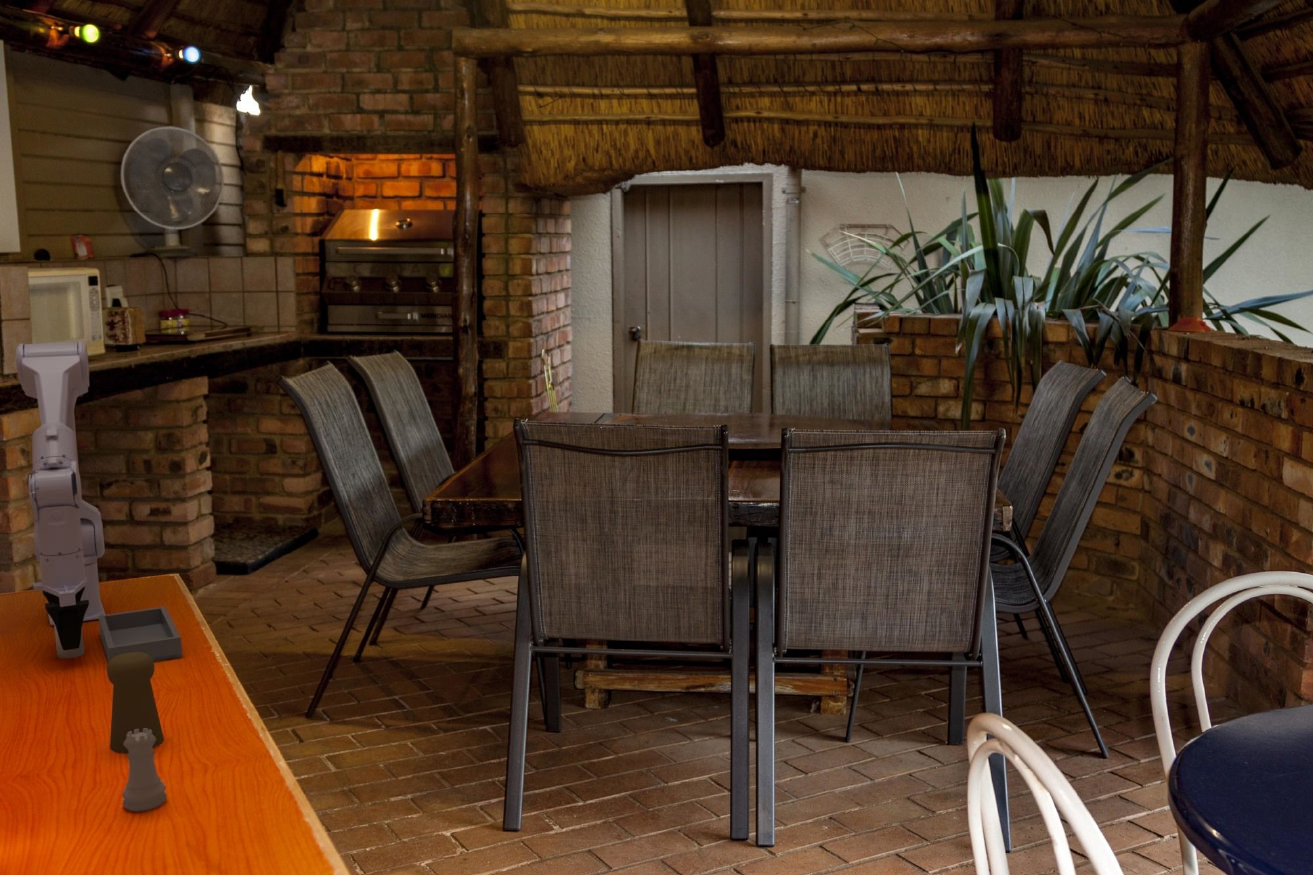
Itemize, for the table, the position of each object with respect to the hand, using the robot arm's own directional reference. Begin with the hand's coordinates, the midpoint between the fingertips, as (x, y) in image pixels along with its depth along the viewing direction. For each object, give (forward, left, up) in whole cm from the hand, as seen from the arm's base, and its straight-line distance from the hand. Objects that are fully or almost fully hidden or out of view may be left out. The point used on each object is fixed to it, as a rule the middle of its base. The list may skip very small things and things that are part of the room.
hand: (69, 641), depth 182 cm
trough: (+1, +9, -2) cm, 10 cm away
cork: (+40, +5, -2) cm, 40 cm away
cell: (0, 0, -2) cm, 2 cm away
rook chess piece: (+58, +4, -2) cm, 58 cm away
